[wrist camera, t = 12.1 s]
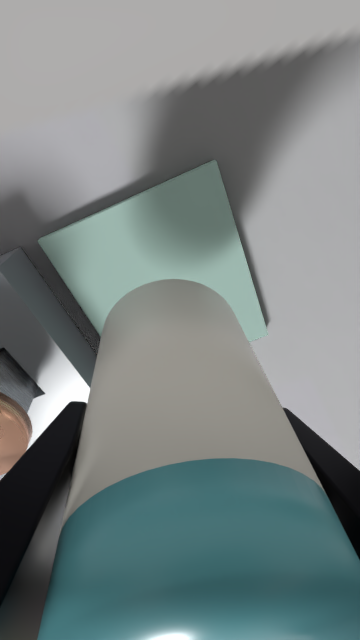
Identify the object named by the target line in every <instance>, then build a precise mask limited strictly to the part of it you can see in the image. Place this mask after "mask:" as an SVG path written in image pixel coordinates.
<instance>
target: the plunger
mask: <svg viewBox="0 0 360 640" xmlns="http://www.w3.org/2000/svg"><path fill="white" fill-rule="evenodd" d="M38 387H39V386H38V385H37V384H36V382H35V381H34V380H33V379H32V378H31V377H30V376H29V375H28V373H27V372H26V371H25V370H24V369H23V368H22V367H21V366H20V365H19V363H18V362H17V361H16V360H15V359H14V358H13V357H12V356H11V354H10V353H9V352H8V351H7V350H6V349H5V348H4V347H3V348H1V349H0V475H2V474H4V473H7V472H8V471H9V470H10V469H11V468H12V467H13V465H14V464H15V463H16V462H17V461H18V460H19V459H20V457H21V456H22V455H23V454H24V453H25V452H26V450H27V447H28V445H29V442H30V439H31V437H32V432H33V430H32V423H31V420H30V418H29V416H28V414H27V413H28V410H29V408H30V406H31V403H32V401H33V398H34V396H35V394H36V391H37V389H38Z"/></svg>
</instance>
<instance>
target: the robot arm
mask: <svg viewBox="0 0 360 640" xmlns="http://www.w3.org/2000/svg"><path fill="white" fill-rule="evenodd" d="M86 406H87V403H86V402H84V401H71V402H69V403H68V404H67V405H66V406H65V408H64V409H63V410H62V411H61V412H60V413H59V414H58V415H57V417H56V418H55V419H54V420H53V421H52V422H51V423H50V425H49V426H48V427H47V428H46V429H45V430H44V431H43V433H42V434H41V435H40V436H39V437H38V438H37V439H36V440H35V442H34V443H33V444H32V445H31V446H30V447H29V448H28V450H27V451H26V452H25V453H24V454H23V455H22V456H21V457H20V459H19V460H18V461H17V462H16V463H15V464H14V465H13V467H12V468H11V469H10V470H9V471H8V472H7V473H6V475H5V476H4V477H3V478H2V479H1V480H0V640H37V638H38V634H39V629H40V624H41V619H42V615H43V610H44V605H45V600H46V596H47V591H48V586H49V581H50V577H51V572H52V567H53V562H54V558H55V553H56V548H57V544H58V539H59V534H60V529H61V525H62V520H63V515H64V510H65V506H66V501H67V496H68V491H69V487H70V482H71V477H72V472H73V468H74V463H75V458H76V453H77V449H78V444H79V439H80V434H81V430H82V425H83V420H84V415H85V411H86ZM283 410H284V412H285V414H286V416H287V418H288V420H289V422H290V424H291V426H292V428H293V430H294V432H295V434H296V436H297V438H298V440H299V442H300V443H301V445H302V447H303V449H304V451H305V453H306V455H307V457H308V459H309V461H310V463H311V465H312V467H313V469H314V471H315V473H316V475H317V477H318V479H319V481H320V483H321V485H322V487H323V489H324V491H325V493H326V495H327V497H328V499H329V501H330V503H331V505H332V507H333V508H334V510H335V512H336V514H337V516H338V518H339V520H340V522H341V524H342V526H343V528H344V530H345V532H346V534H347V536H348V538H349V540H350V542H351V544H352V546H353V548H354V550H355V552H356V554H357V556H358V558H359V560H360V471H359V470H358V469H357V468H356V467H355V466H353V465H352V464H351V463H350V462H349V461H348V460H346V459H345V458H344V457H343V456H342V455H341V454H339V453H338V452H337V451H336V450H335V449H334V448H332V447H331V446H330V445H329V444H328V443H327V442H325V441H324V440H323V439H322V438H321V437H320V436H319V435H317V434H316V433H315V432H314V431H313V430H312V429H310V428H309V427H308V426H307V425H306V424H305V423H303V422H302V421H301V420H300V419H299V418H298V417H296V416H295V415H294V414H293V413H292V412H291V411H289V410H288V409H287V408H283Z"/></svg>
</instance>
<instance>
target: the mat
mask: <svg viewBox="0 0 360 640" xmlns="http://www.w3.org/2000/svg"><path fill="white" fill-rule="evenodd" d="M38 243H39V245H40V246H41V248H42V249H43V251H44V252H45V254H46V255H47V257H48V258H49V260H50V261H51V263H52V264H53V266H54V267H55V269H56V270H57V272H58V273H59V275H60V276H61V278H62V279H63V281H64V282H65V284H66V285H67V287H68V288H69V290H70V291H71V293H72V294H73V296H74V297H75V299H76V300H77V302H78V303H79V305H80V306H81V308H82V310H83V311H84V313H85V314H86V316H87V317H88V319H89V320H90V322H91V323H92V325H93V326H94V328H95V329H96V331H97V332H98V334H99V335H100V337H101V335H102V330H103V326H104V323H105V320H106V318H107V316H108V314H109V312H110V311H111V309H112V308H113V307H114V305H115V304H116V303H117V302H118V301H119V300H120V299H121V298H122V297H124V296H125V295H126V294H127V293H129V292H130V291H132V290H134V289H135V288H137V287H140V286H142V285H144V284H147V283H150V282H153V281H158V280H164V279H183V280H189V281H194V282H197V283H200V284H203V285H205V286H207V287H209V288H211V289H213V290H214V291H216V292H217V293H218V294H220V295H221V296H222V297H223V298H224V299H225V300H226V301H227V303H228V304H229V305H230V307H231V308H232V310H233V312H234V313H235V315H236V317H237V319H238V321H239V323H240V325H241V327H242V329H243V331H244V333H245V335H246V337H247V339H248V341H249V342H251V341H253V340H256V339H259V338H261V337H264V336H267V335H268V332H267V328H266V325H265V322H264V318H263V315H262V312H261V308H260V305H259V302H258V298H257V295H256V291H255V288H254V285H253V281H252V278H251V275H250V271H249V268H248V265H247V261H246V258H245V255H244V251H243V248H242V245H241V241H240V238H239V235H238V231H237V228H236V224H235V221H234V218H233V214H232V211H231V208H230V204H229V201H228V198H227V194H226V191H225V188H224V184H223V181H222V178H221V174H220V171H219V168H218V164H217V161H216V160H212V161H210V162H208V163H205V164H203V165H201V166H199V167H196V168H194V169H192V170H190V171H188V172H185V173H183V174H181V175H179V176H177V177H174V178H172V179H170V180H168V181H165V182H163V183H161V184H159V185H157V186H154V187H152V188H150V189H148V190H145V191H143V192H141V193H139V194H137V195H134V196H132V197H130V198H128V199H126V200H123V201H121V202H119V203H117V204H114V205H112V206H110V207H108V208H106V209H103V210H101V211H99V212H97V213H94V214H92V215H90V216H88V217H86V218H83V219H81V220H79V221H77V222H74V223H72V224H70V225H68V226H66V227H63V228H61V229H59V230H57V231H55V232H52V233H50V234H48V235H46V236H43V237H41V238H40V239H39V240H38Z"/></svg>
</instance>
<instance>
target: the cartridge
mask: <svg viewBox="0 0 360 640" xmlns="http://www.w3.org/2000/svg"><path fill="white" fill-rule="evenodd" d="M37 640H360V560H359V558H358V556H357V554H356V552H355V550H354V548H353V546H352V544H351V542H350V540H349V538H348V536H347V534H346V532H345V530H344V528H343V526H342V524H341V522H340V520H339V518H338V516H337V514H336V512H335V510H334V508H333V507H332V505H331V503H330V501H329V499H328V497H327V495H326V493H325V491H324V489H323V487H322V485H321V483H320V481H319V479H318V477H317V475H316V473H315V471H314V469H313V467H312V465H311V463H310V461H309V459H308V457H307V455H306V453H305V451H304V449H303V447H302V445H301V443H300V442H299V440H298V438H297V436H296V434H295V432H294V430H293V428H292V426H291V424H290V422H289V420H288V418H287V416H286V414H285V412H284V410H283V408H282V406H281V404H280V402H279V400H278V398H277V396H276V394H275V392H274V390H273V388H272V386H271V384H270V382H269V380H268V378H267V377H266V375H265V373H264V371H263V369H262V367H261V365H260V363H259V361H258V359H257V357H256V355H255V353H254V351H253V349H252V347H251V345H250V343H249V341H248V339H247V337H246V335H245V333H244V331H243V329H242V327H241V325H240V323H239V321H238V319H237V317H236V315H235V313H234V312H233V310H232V308H231V307H230V305H229V304H228V303H227V301H226V300H225V299H224V298H223V297H222V296H221V295H220V294H218V293H217V292H216V291H214V290H213V289H211V288H209V287H207V286H205V285H203V284H200V283H197V282H194V281H189V280H183V279H164V280H158V281H153V282H150V283H147V284H144V285H142V286H140V287H137V288H135V289H134V290H132V291H130V292H129V293H127V294H126V295H125V296H124V297H122V298H121V299H120V300H119V301H118V302H117V303H116V304H115V305H114V307H113V308H112V309H111V311H110V312H109V314H108V316H107V318H106V320H105V323H104V326H103V330H102V335H101V340H100V344H99V349H98V354H97V359H96V363H95V368H94V373H93V378H92V382H91V387H90V392H89V397H88V401H87V406H86V411H85V415H84V420H83V425H82V430H81V434H80V439H79V444H78V449H77V453H76V458H75V463H74V468H73V472H72V477H71V482H70V487H69V491H68V496H67V501H66V506H65V510H64V515H63V520H62V525H61V529H60V534H59V539H58V544H57V548H56V553H55V558H54V562H53V567H52V572H51V577H50V581H49V586H48V591H47V596H46V600H45V605H44V610H43V615H42V619H41V624H40V629H39V634H38V638H37Z"/></svg>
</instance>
